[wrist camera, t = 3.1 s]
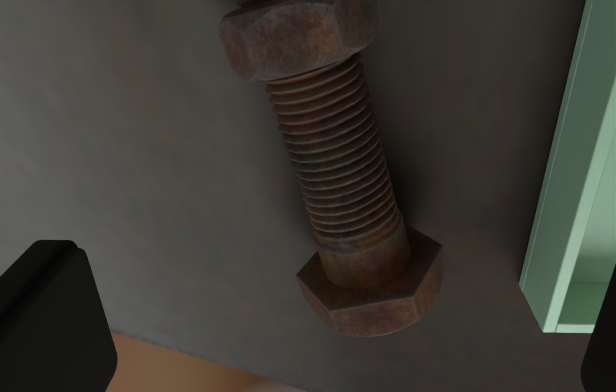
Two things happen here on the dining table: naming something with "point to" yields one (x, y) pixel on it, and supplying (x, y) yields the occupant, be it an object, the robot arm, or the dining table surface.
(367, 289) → the bolt
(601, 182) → the tray
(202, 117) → the dining table surface
